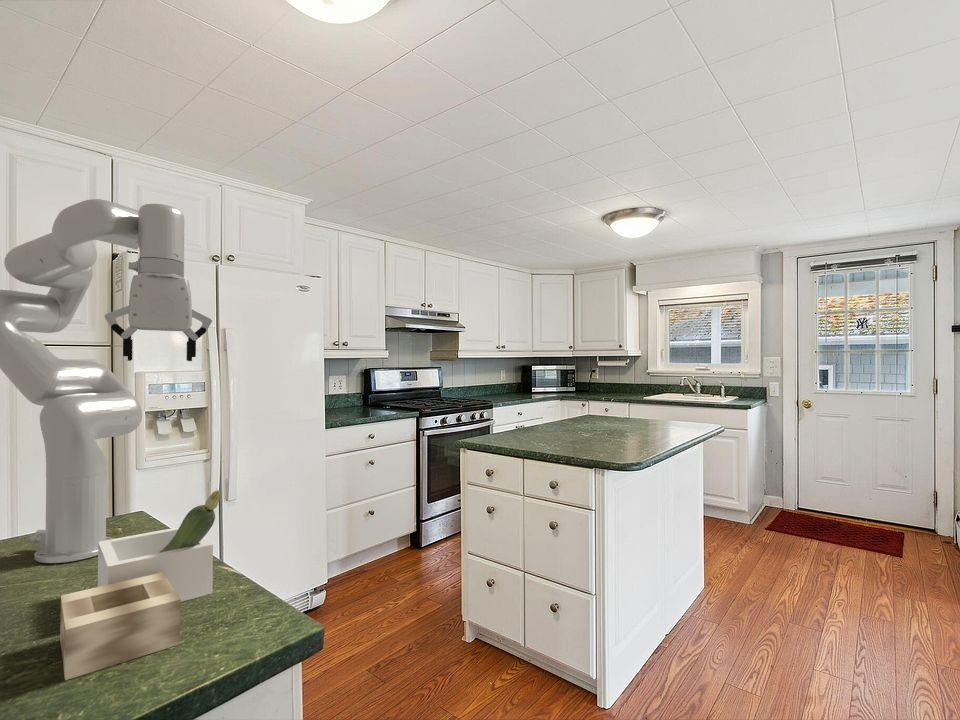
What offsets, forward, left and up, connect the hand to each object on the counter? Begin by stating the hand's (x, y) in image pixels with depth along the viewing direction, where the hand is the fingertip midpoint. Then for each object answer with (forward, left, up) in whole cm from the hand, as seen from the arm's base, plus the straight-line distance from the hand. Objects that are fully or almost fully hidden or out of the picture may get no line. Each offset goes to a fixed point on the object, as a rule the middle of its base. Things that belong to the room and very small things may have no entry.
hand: (160, 360), depth 97 cm
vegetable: (+7, -12, -37) cm, 40 cm away
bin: (+8, -12, -38) cm, 41 cm away
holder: (+14, -27, -38) cm, 49 cm away
